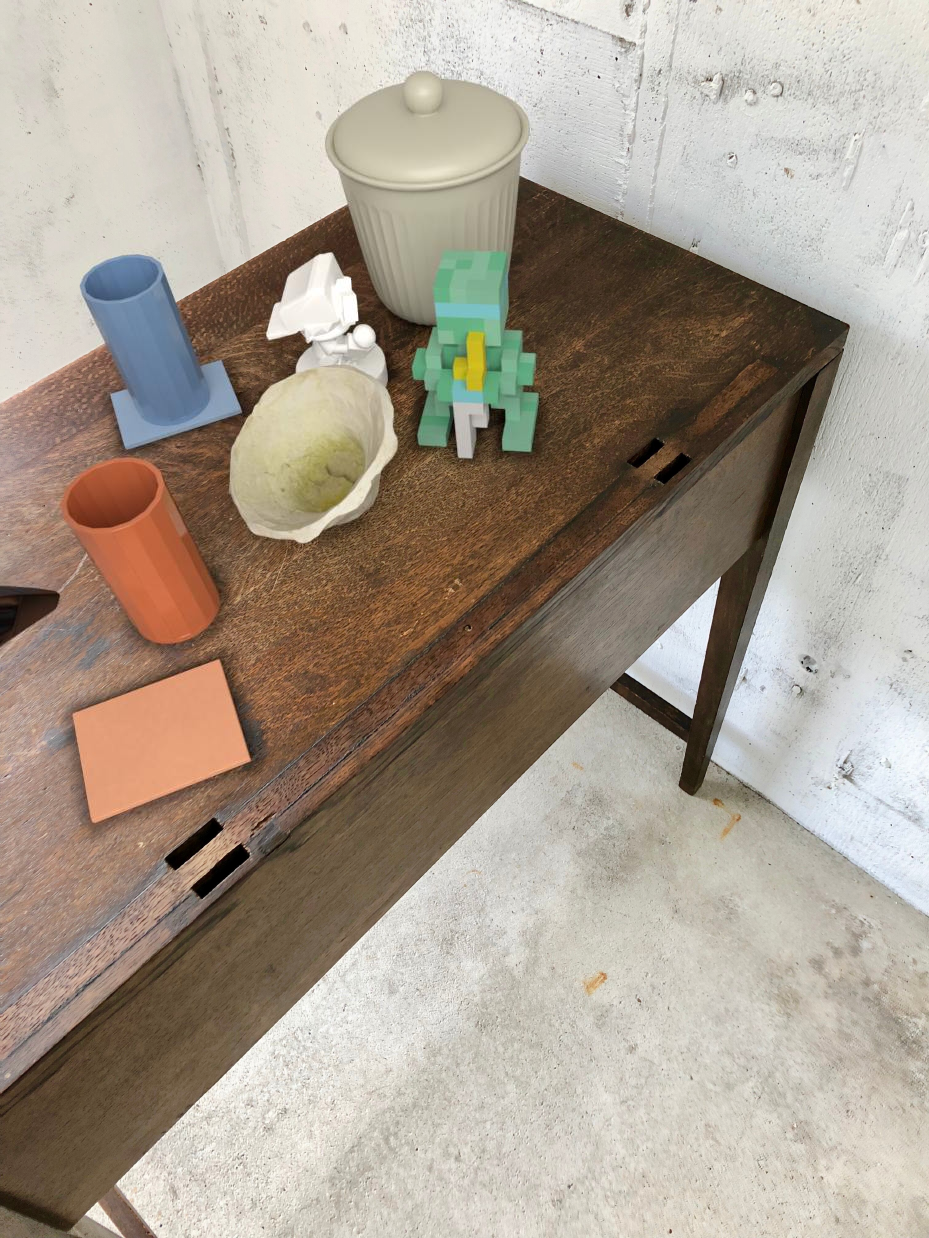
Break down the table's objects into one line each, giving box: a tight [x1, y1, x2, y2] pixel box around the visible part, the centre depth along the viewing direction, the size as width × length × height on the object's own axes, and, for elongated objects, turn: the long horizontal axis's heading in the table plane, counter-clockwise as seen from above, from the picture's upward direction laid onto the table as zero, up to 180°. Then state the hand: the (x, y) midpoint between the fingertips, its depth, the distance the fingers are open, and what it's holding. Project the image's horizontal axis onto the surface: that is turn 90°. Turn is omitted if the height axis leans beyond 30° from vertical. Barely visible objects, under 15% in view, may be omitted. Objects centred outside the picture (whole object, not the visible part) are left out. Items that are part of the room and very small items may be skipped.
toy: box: [411, 250, 540, 459], centre depth 73 cm, size 10×10×15 cm
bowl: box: [228, 365, 399, 544], centre depth 70 cm, size 15×14×10 cm
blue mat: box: [109, 359, 243, 451], centre depth 83 cm, size 11×8×1 cm
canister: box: [324, 70, 531, 327], centre depth 82 cm, size 18×18×21 cm
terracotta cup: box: [60, 456, 221, 645], centre depth 64 cm, size 7×7×13 cm
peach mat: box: [72, 658, 252, 824], centre depth 62 cm, size 11×9×1 cm
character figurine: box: [265, 251, 389, 389], centre depth 79 cm, size 9×10×12 cm
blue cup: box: [79, 253, 210, 426], centre depth 77 cm, size 7×7×13 cm
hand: (10, 567), depth 54 cm, fingers open, 9 cm apart
